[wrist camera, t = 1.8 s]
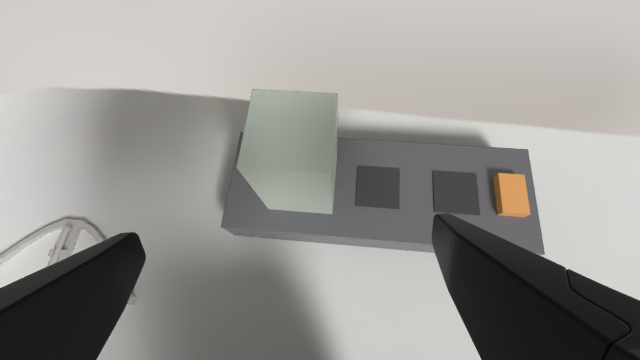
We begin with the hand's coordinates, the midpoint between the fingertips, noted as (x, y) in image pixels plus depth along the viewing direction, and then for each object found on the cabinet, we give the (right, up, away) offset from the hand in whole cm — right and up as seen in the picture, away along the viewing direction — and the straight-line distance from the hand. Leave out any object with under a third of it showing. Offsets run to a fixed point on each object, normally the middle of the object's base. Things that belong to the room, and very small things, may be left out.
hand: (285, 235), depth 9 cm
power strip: (+5, 0, +14) cm, 15 cm away
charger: (0, +1, +14) cm, 14 cm away
